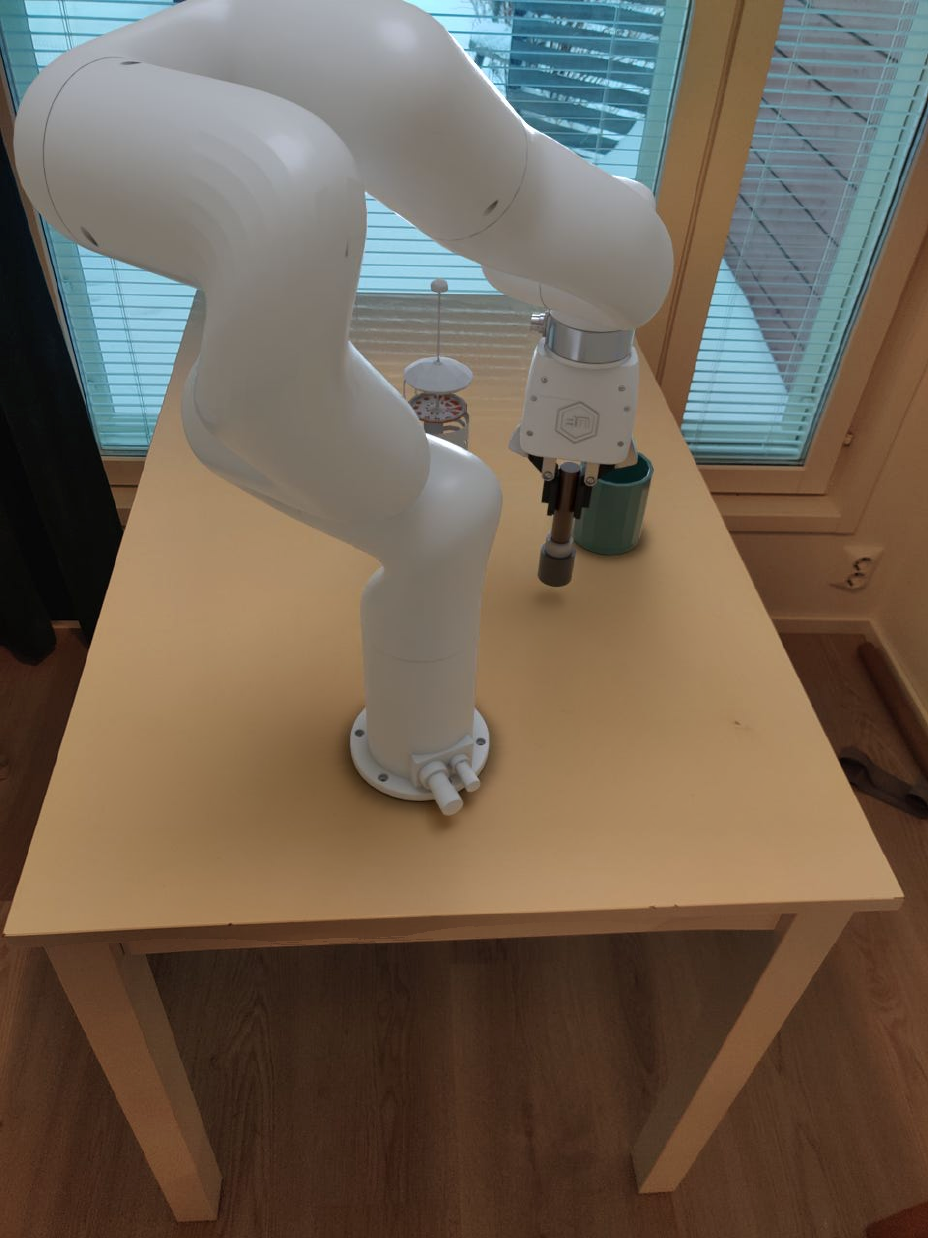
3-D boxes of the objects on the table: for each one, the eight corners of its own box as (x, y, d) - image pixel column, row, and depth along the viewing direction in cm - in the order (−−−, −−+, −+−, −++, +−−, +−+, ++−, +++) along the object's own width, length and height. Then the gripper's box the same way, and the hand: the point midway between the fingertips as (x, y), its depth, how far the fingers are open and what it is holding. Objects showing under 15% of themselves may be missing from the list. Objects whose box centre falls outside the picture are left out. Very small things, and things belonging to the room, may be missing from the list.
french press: (421, 505, 112) (423, 305, 95) (376, 458, 119) (369, 265, 102) (490, 482, 116) (502, 286, 99) (442, 439, 123) (446, 249, 106)
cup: (652, 544, 108) (667, 475, 102) (594, 562, 105) (606, 492, 99) (614, 507, 113) (626, 439, 107) (558, 523, 110) (567, 454, 104)
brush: (578, 576, 98) (596, 467, 90) (557, 591, 96) (573, 481, 88) (552, 561, 100) (567, 452, 91) (530, 575, 98) (544, 466, 89)
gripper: (493, 342, 78) (480, 521, 91) (683, 363, 77) (644, 542, 89) (503, 307, 84) (490, 479, 96) (681, 326, 83) (644, 498, 95)
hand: (564, 508), depth 93 cm, fingers closed on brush, 2 cm apart
